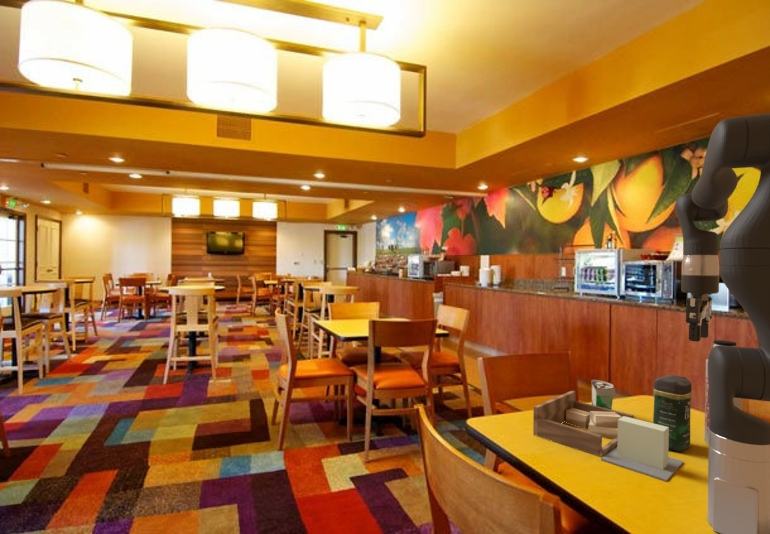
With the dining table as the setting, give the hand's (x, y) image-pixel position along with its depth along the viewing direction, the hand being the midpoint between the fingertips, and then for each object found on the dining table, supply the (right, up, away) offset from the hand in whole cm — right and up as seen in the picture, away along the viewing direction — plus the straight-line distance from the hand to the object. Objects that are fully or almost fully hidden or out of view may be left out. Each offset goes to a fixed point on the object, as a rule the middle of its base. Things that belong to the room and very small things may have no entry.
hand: (698, 339), depth 106 cm
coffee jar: (-1, -30, +9) cm, 32 cm away
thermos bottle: (+14, -31, +11) cm, 35 cm away
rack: (-21, -30, +17) cm, 40 cm away
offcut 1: (-19, -30, +24) cm, 43 cm away
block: (-14, -30, -1) cm, 33 cm away
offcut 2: (-14, -27, +17) cm, 35 cm away
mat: (-14, -30, -1) cm, 33 cm away
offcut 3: (-15, -30, +17) cm, 38 cm away
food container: (-7, -30, +32) cm, 44 cm away
